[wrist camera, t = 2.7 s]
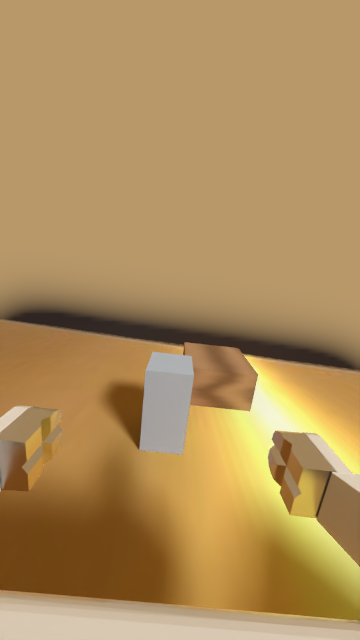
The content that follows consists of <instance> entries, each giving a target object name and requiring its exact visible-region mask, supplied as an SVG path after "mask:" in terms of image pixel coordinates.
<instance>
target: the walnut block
mask: <svg viewBox="0 0 360 640" xmlns="http://www.w3.org/2000/svg"><path fill="white" fill-rule="evenodd" d="M183 355H186V356H192V363H193V371H194V379H193V386H192V393H191V400H190V405H197V406H206V407H216V408H225V409H235V410H245V411H250V409H251V404H252V399H253V395H254V390H255V386H256V381H257V377H258V374H257V373H256V371H255V370H254V369H253V367H252V366H251V365H250V363H249V362H248V361H247V359H246V358H245V357H244V355H243V354H242V353H241V351H240V350H239V349H238V348H231V347H222V346H212V345H203V344H195V343H185V344H184V352H183Z"/></svg>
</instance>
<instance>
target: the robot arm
mask: <svg viewBox="0 0 360 640" xmlns="http://www.w3.org/2000/svg"><path fill="white" fill-rule="evenodd" d="M61 420H62V414H61V411H60V410H57V409H48V408H40V407H30V406H21V405H19V406H15V407H14V408H12V409H11V410H10V411H8V412H7V413H6V414H4V415H3V416H2V417H1V418H0V492H1V490H16V491H29V490H30V489H31V488H32V486H33V485H34V483H35V482H36V481H37V479H38V478H39V476H40V475H41V474H42V472H43V464H45V463H46V462H48V461H50V460H51V459H52V458H53V457H54V455H55V454H56V452H57V451H58V448H59V446H60V444H61V440H62V429H61V428H60V426H59V425H58V424H59V422H60V421H61ZM272 440H273V442H274V444H275V445H274V446H273V447H272V448H271V449H270V451H269V456H268V460H269V468H270V471H271V474H272V476H273V479H274V480H275V481H276V482H277V483H278V484H279V485H280V486H281V490H280V494H281V496H282V499H283V501H284V503H285V505H286V507H287V510H288V512H289V514H290V515H294V516H302V517H310V518H317V521H318V522H319V523H320V524H321V525H322V526H323V527H324V528H325V530H326V531H327V532H328V533H329V534H330V535H331V536H332V537H333V538H334V539H335V540H336V541H337V542H338V544H339V545H340V546H341V547H342V548H343V549H344V550H345V551H346V552H347V553H348V554H349V555H350V556H351V558H352V559H353V560H354V561H355V562H356V563H357V564H358V565H359V566H360V476H359V475H357V474H353V473H352V472H351V471H350V470H349V469H348V468H347V467H346V465H345V464H344V463H343V462H342V461H341V460H340V458H339V457H338V456H337V455H336V454H335V453H334V452H333V450H332V449H331V448H330V447H329V446H328V445H327V444H326V442H325V441H324V440H323V439H322V438H321V437H320V436H319V435H317V434H315V433H297V432H285V431H275V432H274V434H273V438H272ZM0 640H360V620H348V619H337V618H325V617H313V616H302V615H290V614H278V613H267V612H255V611H244V610H232V609H221V608H209V607H197V606H186V605H174V604H162V603H150V602H138V601H126V600H115V599H103V598H91V597H79V596H67V595H55V594H43V593H32V592H20V591H8V590H0Z"/></svg>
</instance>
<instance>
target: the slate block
mask: <svg viewBox="0 0 360 640" xmlns="http://www.w3.org/2000/svg"><path fill="white" fill-rule="evenodd" d="M193 379H194V371H193V363H192V356H186V355H177V354H168V353H159V352H152V355H151V358H150V360H149V363H148V366H147V368H146V374H145V387H144V399H143V411H142V424H141V436H140V448H139V450H143V451H153V452H163V453H173V454H183V450H184V443H185V436H186V429H187V422H188V415H189V407H190V400H191V393H192V386H193Z"/></svg>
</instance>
